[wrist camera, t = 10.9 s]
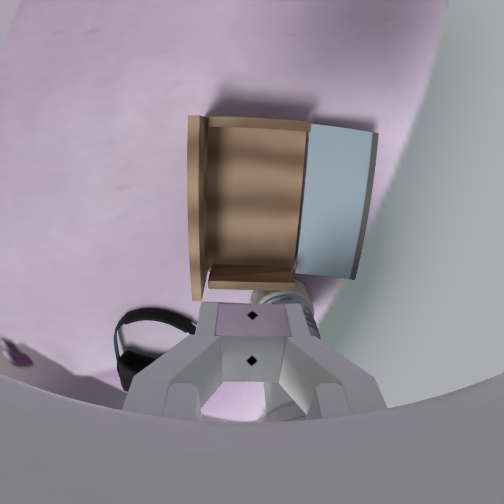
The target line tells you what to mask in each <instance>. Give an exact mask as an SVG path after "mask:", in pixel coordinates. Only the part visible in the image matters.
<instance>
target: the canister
mask: <svg viewBox="0 0 504 504" xmlns="http://www.w3.org/2000/svg"><path fill="white" fill-rule="evenodd" d="M294 281H295V288H294V290H254V292H253V294H252V296H251V304H295V303H299V304H301V306H302V309H303V312H304V315H305V319H306V322H307V325H308V328H309V331H310V335H311V336H316V337H317V338H319V339H320V334H319V332H318V328H317V326H316V322H315V320H314V309H313V305H312V302H311V299H310V297H309V294H308V292H307V289H306V287H305V286H304V285H303V284H302V283H301V282H300V281H298V280H296V279H294ZM320 340H321V339H320ZM264 390H265V401H266V411H267V415H266V416H265V418H264V419H263V420H262V421H261V422H285V421H302V420H305V418H306V414H305V412H304V411H303V410H302V409H301V408H300V407H299V406H298V405H297V403H296V402H295V401H294V400H293V399H292V398H291V397H290V396H289V394H288V393H287V392H286V391H285V390H284V389H283V387H282V386H281V385H280V384H279V382H264Z"/></svg>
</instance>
